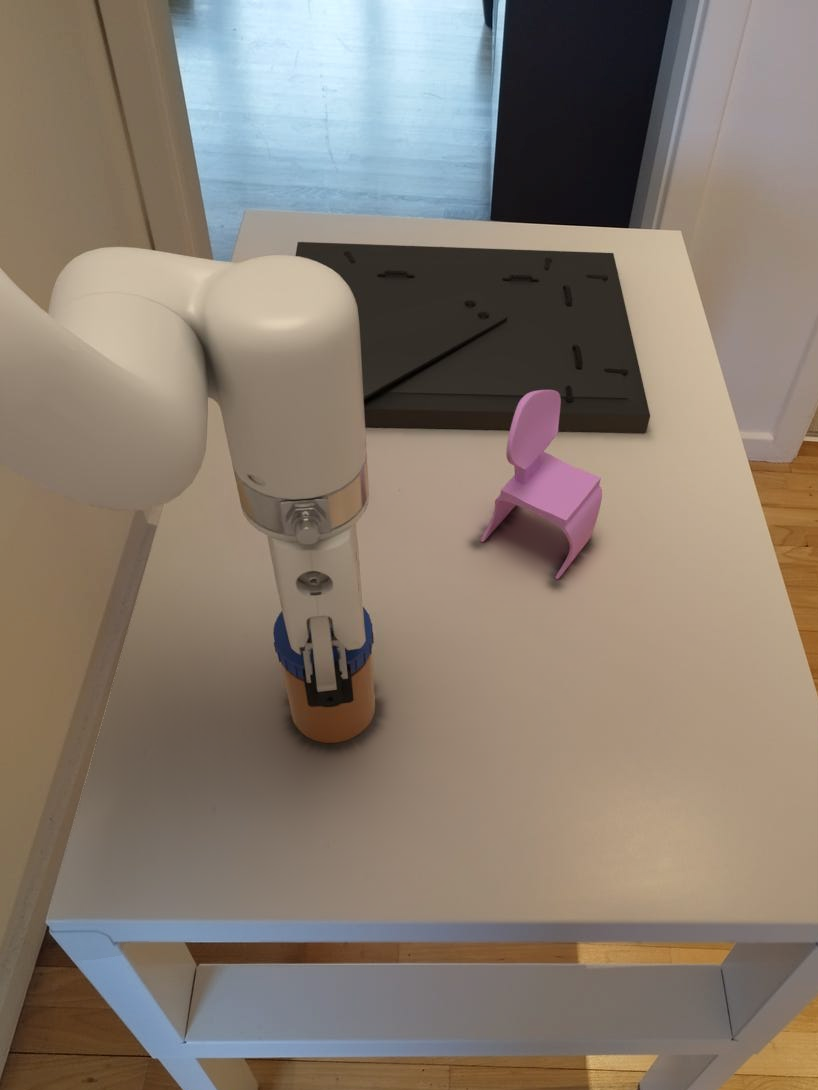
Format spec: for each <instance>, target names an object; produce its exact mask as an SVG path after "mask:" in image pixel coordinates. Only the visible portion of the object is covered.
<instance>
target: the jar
mask: <svg viewBox="0 0 818 1090" xmlns="http://www.w3.org/2000/svg"><path fill="white" fill-rule="evenodd" d="M280 664H281V665H280V666H281V670H282V675H283V680H284V685H285V690H286V695H287V700H288V704H289V705H288V706H289V710H290V715H291V719H292V721H293V724H294V725H295V727H296V729H298V731H299V732H300V733H301V734H302V735H304V736H305V737H307V738H309V739H311V740H313V741H315V742H320V743H325V744H337V743H342V742H345V741H349V740H351V739H353V738H355V737H357V736H359V735H360V734H361V733H362V732H364V730H366V729H367V728H368V726H369V725H370V723H371V722H372V720H373V718H374V715H375V711H376V697H375V683H374V680H375V679H374V667H373V666H374V665H373V652H372V653H370V655H369V657H368V659H367V660H366V663H364V664H363V665H362V666H361V667H360V668H359V669H358V671H356V672H354V673H353V674H351V677H352V687H353V697H354V700H353V701H352V702H350V703H343V704H340V705H338V706H335V707H322V706H318V707H310V706H309V705H308V702H307V696H306V690H305V684H304V679H302V678H299V677H295V675H294V674H292V673H291V672H289V671H288V670H286V668H285V667H284V666H283V664H282V663H281V662H280Z"/></svg>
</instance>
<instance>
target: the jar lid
mask: <svg viewBox="0 0 818 1090" xmlns="http://www.w3.org/2000/svg"><path fill="white" fill-rule="evenodd" d="M363 615H364V626H365V637H366V641H365V643H364V645H363V646H362V647H361V648H360V649H353V650H347V649H346V648H345V655H346V664H350V668H351V674H353V673H354V672H356V671H358V669H359V668H360V667H361V666H362V665H363V664H364V663H366V660H367V659H368V657H369V655H370V653H372V654H373V651H372V649H373V645H374V643H375V641H374V630H373V623H372V619H371V616H370V614H369V613H368V611H367V609H366V608H365V607H364V606H363ZM330 630H331V633H334V631H332V628H330ZM272 633H273V640H274V641H273V646H274V651H275V653H276V654H277V658H278V662H279V663H280V664H281V663H282V664H283V666H284V667H285V668H286V670H288V671H289V672H291V673H292V674H294V675H295V677H299V678H302V679H304V678H303V669H305V665H304V657H303V651H301V655H300V654H298V653H296V652H295V651H294V650H293V649H292V648H291V645H290V642H289V638H288V634H287V630H286V626H285V621H284V617H283V613H282V610H281V611H280V612H279V614H278V616H277V617H276V620H275V621H274V625H273V632H272ZM308 634H309V635H311V630H310V633H308ZM311 652H312V660H313V665H314V656H313V650H311ZM333 657H334V661H337V660H338V653H337V648H333ZM338 664H339V662H338Z"/></svg>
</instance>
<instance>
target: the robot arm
mask: <svg viewBox="0 0 818 1090" xmlns="http://www.w3.org/2000/svg"><path fill="white" fill-rule="evenodd" d="M49 300H50V301H49V307H48V311H45V310H44V309H43V308H42V307H40V306H39V305H38V304H37V303H36V302H35V301H34V300H33V299H32V298H31V297H30V296H29V295H27V294H26V293H25V292H24V291H23V290H22V289H21V288H20V287H19V286H17V284H16V283H15V282H14V281H13V280H12V279H11V278H10V277H9V276H8V274H7V273H6V272H5V271H3V269H2V268H1V267H0V465H1V466H3V467H5V468H6V469H8V470H10V471H12V472H14V473H15V474H17V475H19V476H20V477H23V478H25V479H26V480H28V481H30V482H32V483H33V484H35V485H37V486H39V487H42V488H45V489H46V490H49V491H51V492H53V493H55V494H57V495H58V496H59V495H60V496H62V497H64V498H67V499H69V500H72V501H74V502H77V503H80V504H84V505H87V506H89V507H94V508H98V509H104V510H110V511H114V512H139V511H147V510H151V509H155V508H158V507H160V506H163V505H165V504H169V503H170V502H171V501H173V500H174V499H177V498H178V497H180V496H181V495H182V494H183V493H184V492H185V491H186V490H187V489H188V488H189V487H190V486H191V485H192V484H193V482H194V480H195V479H196V477H197V476H198V474H199V472H200V470H201V468H202V465H203V462H204V459H205V455H206V452H207V440H208V422H209V421H208V419H209V417H208V416H209V399H211V400H212V401H214V402H215V403H217V405H218V408H219V409H220V414H221V417H222V421H223V422H222V423H223V427H224V433H225V437H226V441H227V446H228V450H229V455H230V460H231V464H232V469H233V474H234V478H235V483H236V489H237V493H238V497H239V503H240V508H241V510H242V513H243V515H244V517H245V519H246V520H247V521H248V522H249V524H250V525H251V526H252V527H253V528H255V529H256V530H257V531H258V532H260V533H262V534H263V535H265V536H267V543H268V548H269V554H270V559H271V564H272V569H273V573H274V575H273V576H274V579H275V584H276V589H277V593H278V599H279V603H280V607H281V611H282V613H283V617H284V621H285V626H286V630H287V634H288V638H289V642H290V645H291V648H292V649H293V650H294V651H295V652H296V653H298V654H300V655H301V651H303V657H304V665H305V669H303V678H304V684H305V690H306V696H307V702H308V705H309V706H310V707H318V706H322V707H335V706H338V705H340V704H343V703H350V702H352V701H353V700H354V697H353V687H352V677H351V668H350V664H346V655H345V648H346V649H347V650H353V649H360V648H361V647H362V646H363V645H364V643H365V641H366V637H365V626H364V615H363V607H364V606H363V595H362V594H363V593H362V592H363V591H362V579H361V566H360V553H359V543H358V542H359V541H358V532H357V524H356V523H357V522H359V520H360V519H361V518H362V516H363V515H364V513H365V512H366V510H367V507H368V505H369V499H370V488H369V485H370V484H369V467H368V452H367V451H368V450H367V439H366V438H367V434H366V427H365V416H364V398H363V380H362V362H361V344H360V326H359V316H358V308H357V304H356V300H355V298H354V296H353V293H352V291H351V289H350V288H349V286H348V284H347V283H346V282H345V281H344V280H343V279H342V277H341V276H340V275H339V274H337V273H336V272H335V271H334V270H332V269H331V268H329V267H327V266H325V265H323V264H321V263H319V262H316V261H313V260H311V259H307V258H303V257H298V256H295V255H291V254H290V255H289V254H288V255H287V254H275V255H274V254H273V255H272V254H271V255H264V256H263V255H261V256H257V257H252V258H250V259H246V260H243V261H240V262H233V261H225V260H224V261H223V260H215V259H208V258H202V257H196V256H189V255H184V254H177V253H174V252H173V253H172V252H166V251H160V250H153V249H148V248H140V247H131V246H130V247H129V246H109V247H107V246H106V247H99V248H96V249H92V250H88V251H85V252H82V253H81V254H79V255H77V256H76V257H74V258H72V260H70V261H69V262H68V263H66V265H65V266H64V267H63V269H62V270H61V272H60V273H59V274H58V276H57V277H56V280H55V283H54V286H53V289H52V292H51V296H50V299H49ZM330 628H332V631H334V633H331V630H330ZM310 630H311V635H309V634H308V633H310ZM333 648H337V653H338V660H337V661H334V657H333ZM311 650H313V656H314V665H313V660H312V652H311ZM338 662H339V664H338Z"/></svg>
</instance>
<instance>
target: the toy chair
mask: <svg viewBox="0 0 818 1090" xmlns="http://www.w3.org/2000/svg"><path fill="white" fill-rule="evenodd" d="M560 405H561V398H560V394H559V393H558V392H557V391H555V390H538V391H533V392H530V393H528V394H526V395H525V396H524V397H523V398H522V399H521V400H520V402H519V404H518V406H517V408H516V411H515V414H514V417H513V421H512V424H511V428H510V430H509V434H508V438H507V443H506V452H505V453H506V459H507V462H508V463H509V464H510V465H512V466H514V467H513V468H514V475H513V476H512V477H511V478H510V479H509V480H508V481H507V482H506V483H505V485H503V487H502V488H501V489H500V494H499V495H498V496H497V497H496V499H495V500H494V510H493V514H492V517H491V519H490V521H489V523H488V525H487V527H486V529H485V531H484V533H483V534H482V535H481V537H480V542H482V543H484V542H485V541H486V540H487V539H488V538H489V537H490V535H491V534H493V532H494V531H495V530H496V529H497V528H498V526H499V525H500V524H501V523H502V522H503V521H504V520H505V518H506V517H507V516H508V515H509V514H510V513H511V512H512V511H513V509H514V508H515V507H516V506H518V507H520V508H523V509H525V510H528V511H530V512H532V513H534V514H536V515H537V516H539V517H541V518H544V519H545V520H547V521H549V522H550V523H553V524H554V525H556V526H557V527H559V528H560V529H561V530H562V531H563V533H564V534H565V537H566V538H567V540H568V543H569V552H568V554H567V557H566V558H565V561H564V562H563V564H562V566H560V569H559V571H558V572H557V573H556V575H555V577H554V579H556V580H559V579H560V578H562V575H563V574H564V573H565V571H566V570H567V569H568V568H569V566H570V565H571V564H572V562H573V561H574V560H575V559H576V558H577V556H578V555H579V554H580V552H581V551H582V550H583V548H584V547H585V546H586V544H587V543H588V542H589V541H590V539H591V537H592V535H593V532H594V531H595V530H594V529H595V526H596V524H597V520H598V517H599V513H600V510H601V505H602V498H603V490H602V487H601V486H600V483H601V479H602V478H601V477H600V476H598V475H596V474H593V473H591V472H589V471H587V470H585V469H582V468H579V467H576V466H575V465H572V464H570V463H567V462H565V461H563V460H561V459H560V458H558V457H555V456H554V455H552V454H550V453H548V452H545V451H546V450H547V448H548V447H549V446H550V445H551V443H552V442H553V440H554V439H555V437H556V436H557V435H558V434H559V431H558V425H559V415H560Z"/></svg>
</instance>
